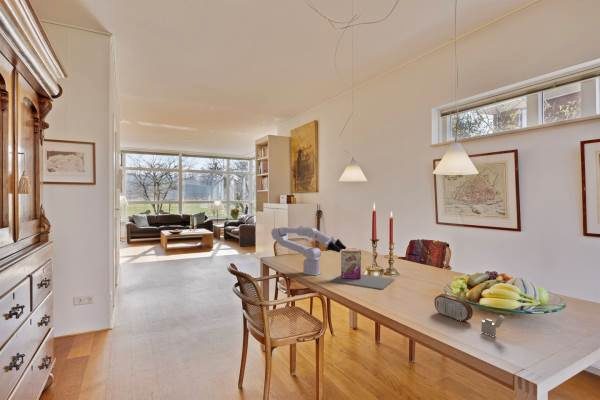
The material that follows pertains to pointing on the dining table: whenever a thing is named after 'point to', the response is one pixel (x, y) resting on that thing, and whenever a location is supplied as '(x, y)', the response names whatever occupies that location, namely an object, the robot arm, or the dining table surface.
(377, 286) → the slate placemat
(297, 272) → the dining table surface
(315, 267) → the robot arm
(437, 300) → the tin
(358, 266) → the candy bar box
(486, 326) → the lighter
